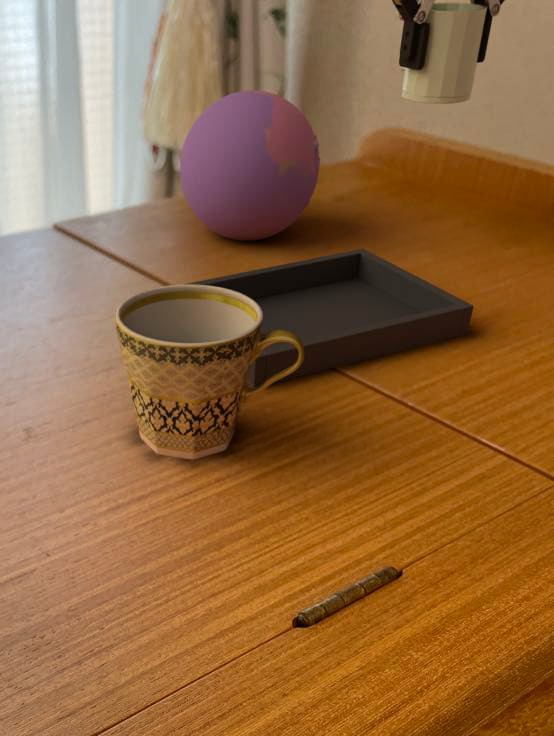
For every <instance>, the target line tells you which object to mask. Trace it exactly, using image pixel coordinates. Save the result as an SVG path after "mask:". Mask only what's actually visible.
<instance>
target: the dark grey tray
mask: <svg viewBox="0 0 554 736" xmlns="http://www.w3.org/2000/svg"><path fill="white" fill-rule="evenodd" d="M187 284H192V285H208V286H215V287H221V288H225V289H229V290H233V291H236V292H239V293H241V294H243V295H246V296H247V297H249V298H251V299H252V300H254V301H255V302H256V303H257V304H258V305H259V306H260V307H261V309H262V311H263V317H264V318H263V322H262V325H261V330H260V332H261V334H262V335H265V334H267V333H269V332H271V331H275V330H286V331H289V332H292V333H294V334H296V335H297V336H298V337H299V338H300V340H301V341H302V344H303V347H304V351H305V355H304V360H303V362H302V363H301V365H300V366H299V367H298V368H297V369H296V370H295V371H294V372H292V373H291V374H289V375H287V376H285V377H283V378H281V379H279V380H277V381H275V382H273V383H272V384H274V383H277V382H281V381H286V380H289V379H293V378H297V377H301V376H305V375H309V374H313V373H318V372H320V371H325V370H330V369H333V368H337V367H341V366H345V365H349V364H353V363H357V362H361V361H364V360H369V359H372V358H377V357H381V356H384V355H385V356H386V355H389V354H393V353H397V352H402V351H405V350H408V349H412V348H417V347H421V346H425V345H429V344H433V343H437V342H441V341H445V340H449V339H453V338H456V337H461V336H465V335H468V333H469V329H470V324H471V320H472V316H473V312H474V307H475V306H474V305H473V304H471V303H469V302H467V301H465V300H464V299H462V298H459V297H458V296H455V295H454V294H452V293H450V292H448V291H446V290H445V289H442V288H440V287H438V286H437V285H435V284H433V283H431V282H428V281H426V280H425V279H423V278H422V277H419V276H417V275H415V274H413V273H411V272H409V271H408V270H405V269H404V268H401V267H400V266H398V265H396V264H394V263H392V262H390V261H388V260H386V259H384V258H382V257H380V256H378V255H376V254H374V253H373V252H370V251H369V250H367V249H365V248H359V249H353V250H348V251H344V252H339V253H338V252H337V253H334V254H333V253H332V254H328V255H324V256H319V257H313V258H308V259H303V260H298V261H294V262H288V263H283V264H278V265H273V266H268V267H262V268H258V269H254V270H253V269H252V270H249V271H242V272H238V273H233V274H228V275H223V276H218V277H214V278H213V277H212V278H207V279H202V280H198V281H193V282H188V283H183V284H181V285H187ZM298 357H299V352H298V349H297V348H296V346H295V345H293V344H292V343H289V342H276V343H273V344H271V345H269V346H267V347H266V348H265V349H263V350H262V352H261V354H260V355H259V356H258V357H257V358H256V359H255V361H254V362H253V363H252V364H251V368H250V372H249V375H248V378H247V381H246V383H248V384H249V385H250V386H251V387H252V388H255V387H258V386H260V385H261V384H262V383H263V382H265V381H266V380H267V379H268V378H270V377H271V376H273V375H275V374H277V373H279V372H281V371H283V370H284V369H286V368H288V367H290V366H292V365H293V364H294V363H295V362H296V361H297V360H298Z"/></svg>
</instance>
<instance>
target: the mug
mask: <svg viewBox="0 0 554 736" xmlns="http://www.w3.org/2000/svg"><path fill="white" fill-rule="evenodd" d="M486 12H487V7H486V6H484V5H479V4H472V3H471V2H450V1H449V2H445V1H444V2H443V1H442V2H434V4H433V6H432V8H431V10H430V12H429V14H428V16H427V18H426V20H425V22H424V23H429V24H430V31H429V37H428V44H427V50H426V56H425V63H424V67H423V68H422V69H421V70H413V69H409V68H405V67H401V66H400V65H399V71H401V72H404V75H403V81H402V94H401V96H402V98H403V99H405V100H407V101H410V102H414V103H419V104H430V105H432V104H433V105H451V104H459V103H464V102H467V101H469V100H471V96H472V91H473V85H474V81H475V75H476V70H477V66H478V65H477V64H478V63H477V60H478V55H479V49H480V44H481V39H482V33H483V28H484V23H485V17H486Z"/></svg>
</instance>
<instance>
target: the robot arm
mask: <svg viewBox="0 0 554 736" xmlns="http://www.w3.org/2000/svg"><path fill="white" fill-rule="evenodd" d="M469 1H470V3H472V4H479V5H484V6H486V7H487V12H486V17H485V23H484V28H483V33H482V39H481V44H480V49H479V55H478V60H477V64H478V63H483V62H484V61H485V59H486V55H487V50H488V46H489V45H488V44H489V39H490V34H491V28H492V24H493V20H494V19H493V18H494V17H497V16H498V15H499V14H500V12H501V6H502V5H503V3H504V2H505V1H506V0H469ZM391 2H392V4H393V5H394V7H395V9H396V10H397V12H398V19H399V20H400V21H402V22H403V25H402V33H401V41H400V46H399V47H400V48H399V58H398V65H399V67H400V66H401V67H405V68H409V69H413V70H421V69H422V68H423V67H424V63H425V56H426V50H427V44H428V37H429V31H430V24H429V23H424V22H425V20H426V18H427V16H428V14H429V12H430V10H431V8H432V6H433V4H434V3H436V0H391Z"/></svg>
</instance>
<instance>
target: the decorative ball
mask: <svg viewBox="0 0 554 736" xmlns="http://www.w3.org/2000/svg"><path fill="white" fill-rule="evenodd" d="M319 146H320V144H319V141H318V136H317V135H316V134H315V132H314V130H313V128H312V125H311V124H310V123H309V121H308V120H307V118H306V116H305V115H304V114H303V112H302V111H300V109H299V108H298V107H297V106H295V105H294V104H293V103H292V102H291V101H289V100H287V99H286V98H284V97H282V96H280V95H278V94H276V93H273V92H269V91H266V90H265V91H264V90H258V89H257V90H256V89H249V90H240V91H236V92H234V93H229V94H227V95H225V96H222V97H221V98H219V99H217V100H215V101H213V103H212V104H210V105H209V106H207V108H205V109H204V110H203V111H202V112H201V114H200V115H199V116H198V117H197V118H196V119H195V120H194V122H193V124H192V125H191V127H190V129H189V131H188V132H187V134H186V137H185V140H184V142H183V146H182V149H181V155H180V162H179V176H180V184H181V188H182V192H183V195H184V198H185V201H186V203H187V204H188V206H189V208H190V210H191V211H192V213H193V214H194V216H195V217H196V218H197V219H198V221H200V222H201V224H203V225H204V226H205V227H206V228H207V229H209V230H210V231H211V232H213V233H215V234H217V235H219V236H220V237H223V238H227V239H229V240H234V241H241V242H251V241H252V242H253V241H254V242H255V241H259V240H260V241H261V240H264V239H268V238H270V237H272V236H275V235H277V234H279V233H281V232H282V231H284V230H285V229H287V228H289V227H290V226H291V225H292V224H293V223H294V222H295V221H296V220H297V219H298V218H299V217H300V216H301V215H302V214H303V213H304V212H305V210H306V208H307V207H309V205H310V203H311V200H312V197H313V195H314V193H315V190H316V187H317V183H318V179H319V173H320V165H321V157H320V151H319Z"/></svg>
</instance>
